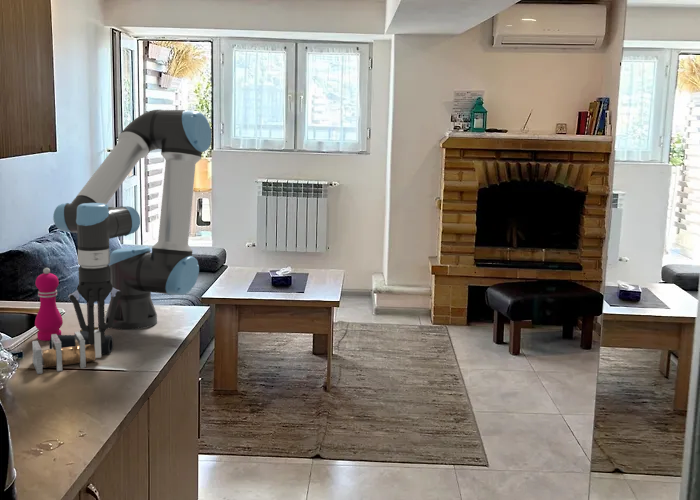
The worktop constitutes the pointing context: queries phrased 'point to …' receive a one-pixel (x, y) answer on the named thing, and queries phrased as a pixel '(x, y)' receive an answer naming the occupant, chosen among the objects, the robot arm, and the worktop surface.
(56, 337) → the grey slatted rack
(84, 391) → the worktop surface
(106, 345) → the pipe connector
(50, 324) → the pepper mill
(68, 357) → the tube
